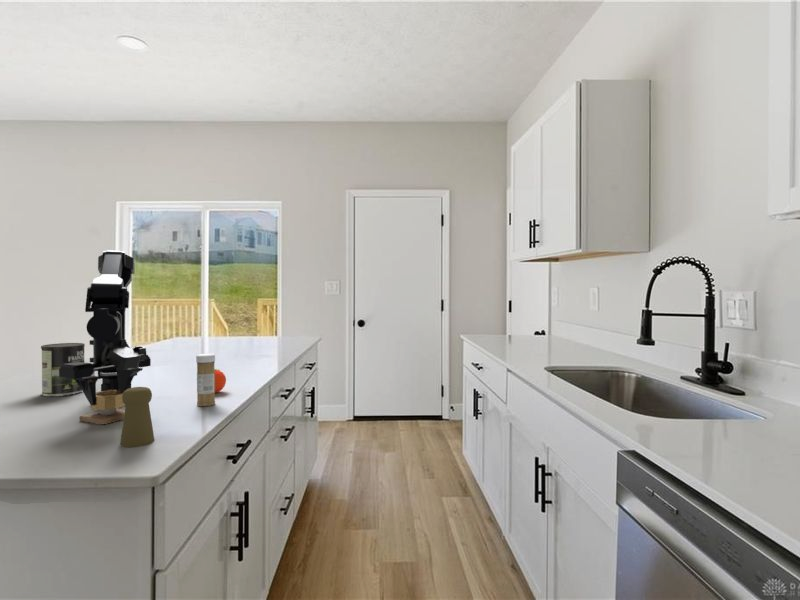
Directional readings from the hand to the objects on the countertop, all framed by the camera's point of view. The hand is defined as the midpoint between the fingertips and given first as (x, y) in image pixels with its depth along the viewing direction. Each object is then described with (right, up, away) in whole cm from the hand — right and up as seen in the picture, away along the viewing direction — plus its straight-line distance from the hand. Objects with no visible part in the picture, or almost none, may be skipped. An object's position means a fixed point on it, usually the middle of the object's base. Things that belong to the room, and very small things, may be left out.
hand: (108, 401), depth 109 cm
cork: (+16, -5, -16) cm, 23 cm away
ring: (0, -1, 0) cm, 1 cm away
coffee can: (-29, -3, +26) cm, 39 cm away
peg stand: (0, -4, 0) cm, 4 cm away
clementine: (+13, -4, +28) cm, 31 cm away
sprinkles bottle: (+17, -4, +14) cm, 22 cm away
